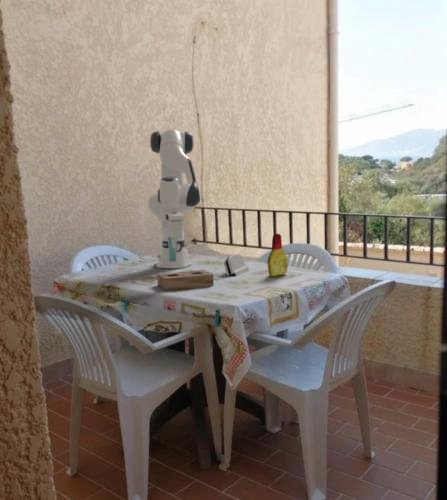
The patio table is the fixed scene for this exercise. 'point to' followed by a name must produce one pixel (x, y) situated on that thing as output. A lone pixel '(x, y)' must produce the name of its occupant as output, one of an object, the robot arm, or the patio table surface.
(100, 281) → the patio table surface
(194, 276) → the hole block
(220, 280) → the patio table surface
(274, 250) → the bottle
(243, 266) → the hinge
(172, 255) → the peg
